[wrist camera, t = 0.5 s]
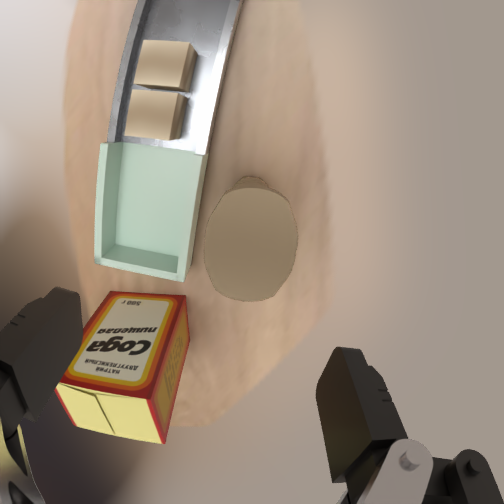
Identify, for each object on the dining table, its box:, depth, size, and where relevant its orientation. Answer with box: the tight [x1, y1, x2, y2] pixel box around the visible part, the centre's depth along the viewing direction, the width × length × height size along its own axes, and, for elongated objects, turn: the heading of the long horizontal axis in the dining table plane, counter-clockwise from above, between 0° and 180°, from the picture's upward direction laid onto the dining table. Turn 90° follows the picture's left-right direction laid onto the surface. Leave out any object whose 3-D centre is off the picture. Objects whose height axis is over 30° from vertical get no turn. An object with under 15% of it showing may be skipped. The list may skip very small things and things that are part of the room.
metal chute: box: [107, 0, 243, 155], centre depth 23 cm, size 20×10×3 cm, turn 168°
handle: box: [204, 176, 298, 302], centre depth 23 cm, size 5×6×15 cm
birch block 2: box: [124, 89, 187, 141], centre depth 24 cm, size 4×4×4 cm
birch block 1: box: [133, 40, 198, 92], centre depth 23 cm, size 4×4×4 cm
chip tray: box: [95, 142, 209, 282], centre depth 29 cm, size 12×10×4 cm
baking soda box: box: [55, 291, 190, 444], centre depth 28 cm, size 10×6×16 cm
